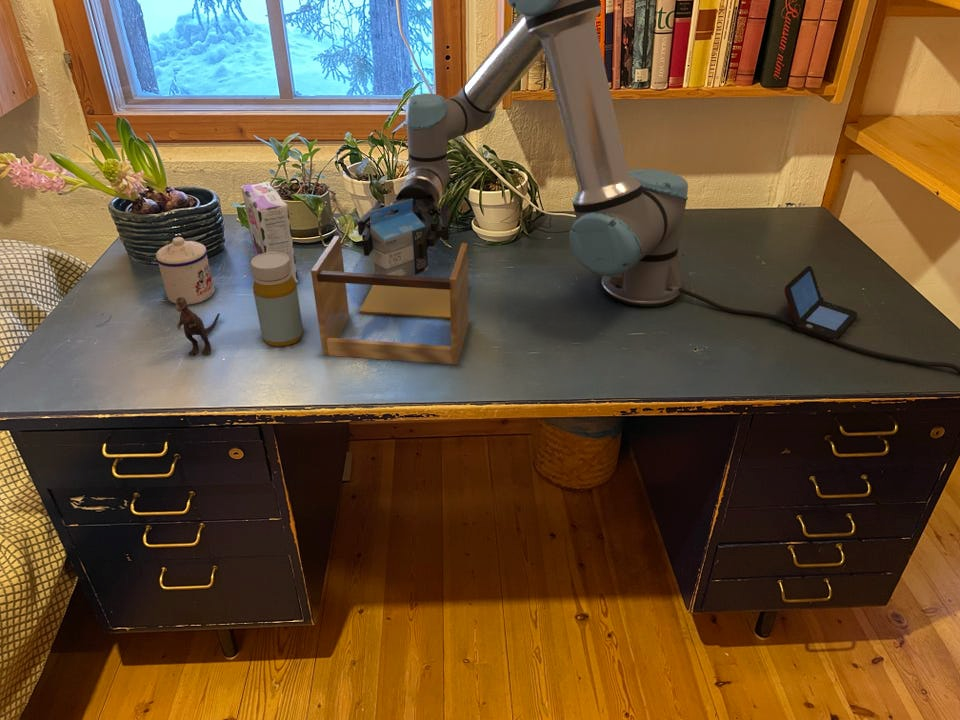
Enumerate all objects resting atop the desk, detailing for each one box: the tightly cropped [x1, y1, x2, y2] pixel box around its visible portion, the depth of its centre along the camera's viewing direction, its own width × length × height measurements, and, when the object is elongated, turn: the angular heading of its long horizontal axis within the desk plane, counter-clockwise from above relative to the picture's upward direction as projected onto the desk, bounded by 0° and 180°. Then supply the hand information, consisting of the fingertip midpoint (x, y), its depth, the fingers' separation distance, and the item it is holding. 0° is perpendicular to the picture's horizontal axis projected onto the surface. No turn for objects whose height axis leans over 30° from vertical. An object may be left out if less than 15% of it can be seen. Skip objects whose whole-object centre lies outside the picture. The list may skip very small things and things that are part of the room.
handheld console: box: [783, 265, 858, 342], centre depth 132 cm, size 12×11×7 cm
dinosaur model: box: [175, 297, 221, 357], centre depth 125 cm, size 4×12×15 cm
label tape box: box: [370, 199, 429, 276], centre depth 124 cm, size 9×4×12 cm, turn 132°
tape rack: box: [310, 235, 469, 366], centre depth 124 cm, size 23×13×16 cm, turn 83°
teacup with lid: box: [155, 236, 215, 306], centre depth 140 cm, size 12×9×12 cm
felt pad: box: [359, 285, 451, 320], centre depth 140 cm, size 18×12×1 cm, turn 83°
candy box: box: [240, 180, 299, 284], centre depth 145 cm, size 14×6×16 cm, turn 27°
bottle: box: [250, 252, 304, 348], centre depth 125 cm, size 7×7×15 cm
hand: (393, 249), depth 120 cm, fingers closed on label tape box, 8 cm apart
